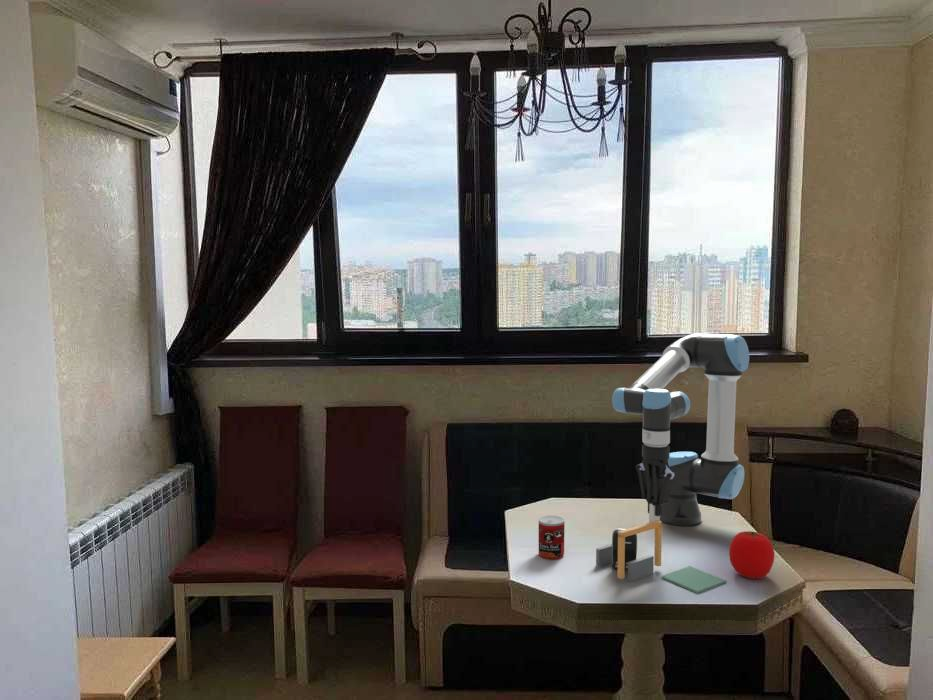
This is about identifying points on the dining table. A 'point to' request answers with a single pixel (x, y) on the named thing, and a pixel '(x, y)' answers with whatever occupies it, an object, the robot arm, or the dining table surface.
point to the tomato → (751, 554)
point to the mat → (693, 579)
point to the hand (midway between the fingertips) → (654, 525)
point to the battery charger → (629, 549)
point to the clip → (635, 567)
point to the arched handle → (634, 530)
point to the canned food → (551, 537)
